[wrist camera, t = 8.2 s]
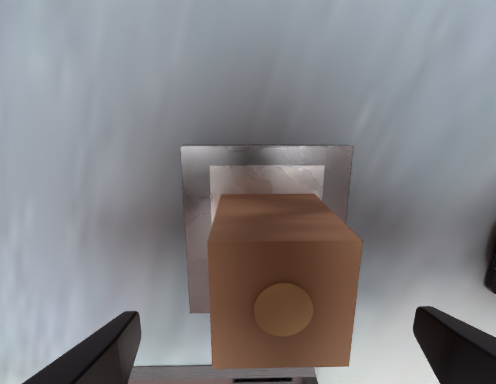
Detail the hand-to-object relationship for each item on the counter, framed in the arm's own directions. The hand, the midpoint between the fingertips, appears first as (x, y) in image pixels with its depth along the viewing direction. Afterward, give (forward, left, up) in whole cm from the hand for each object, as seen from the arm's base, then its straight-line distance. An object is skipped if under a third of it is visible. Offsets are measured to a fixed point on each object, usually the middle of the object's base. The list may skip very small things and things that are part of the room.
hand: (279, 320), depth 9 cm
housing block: (0, 0, -7) cm, 7 cm away
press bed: (0, 0, -8) cm, 8 cm away
